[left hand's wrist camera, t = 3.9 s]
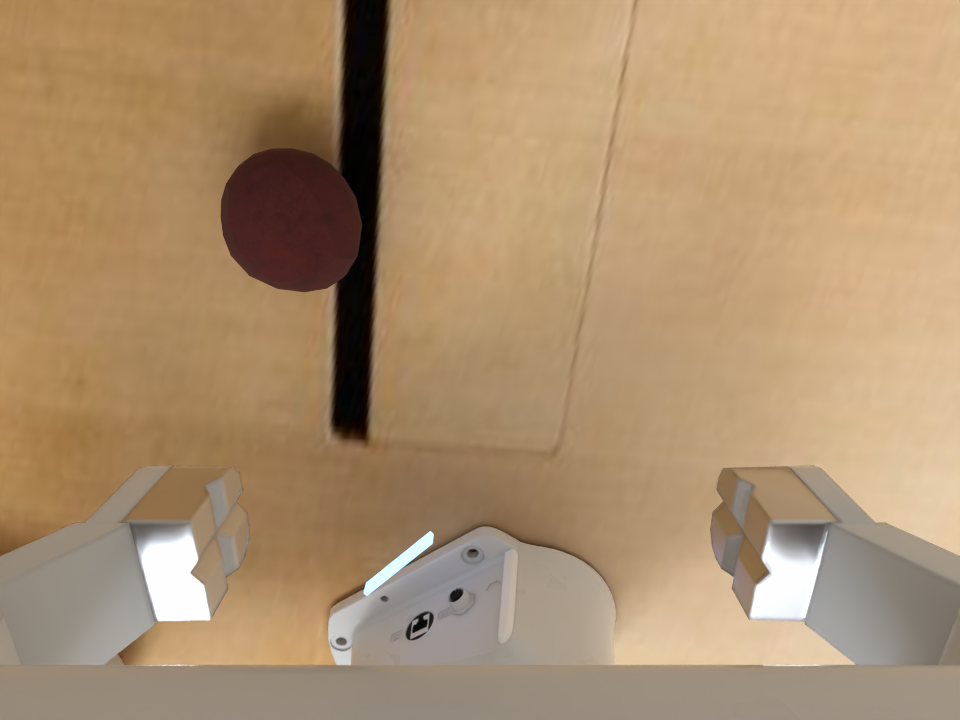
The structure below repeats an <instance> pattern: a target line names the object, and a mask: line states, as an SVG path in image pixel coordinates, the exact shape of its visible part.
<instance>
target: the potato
mask: <svg viewBox="0 0 960 720" xmlns="http://www.w3.org/2000/svg"><path fill="white" fill-rule="evenodd" d="M221 222H222V230H223V236H224V239H225V241H226V244H227V246H228V249H229V252H230V254H231V256H232V257H233V258H234V259H235V260H236V262H237V263H238V264H239V265H240V266H241V267H242V268H243V269H244V270H245V271H246V272H247V273H248V275H249V276H251V277H253V278H255V279H258V280H260V281H262V282H264V283H266V284H268V285H271V286H273V287H275V288H278V289H284V290H292V291H300V292H308V291H314V290H320V289H326V288H328V287H330V286H331V285H333V284H334V283H336V282H337V281H339V280H340V279H342V278H343V277H345V275H346V274H347V272H348V271H349V269H350V267H351V266H352V264H353V262H354V261H355V259H356V258H357V255H358V250H359V243H360V236H361V229H362V222H361V218H360V213H359V209H358V204H357V200H356V197H355V195H354V193H353V192H352V190H351V188H350V187H349V185H348V183H347V182H346V180H345V178H344V177H343V176H342V175H341V174H340V173H339V172H338V171H337V170H336V169H335V168H334V167H333V166H332V165H331V164H329V163H328V162H326V161H324V160H323V159H321V158H319V157H318V156H316V155H315V154H311V153H307V152H304V151H300V150H296V149H270V150H266V151H263V152H259V153H256V154H253V155H252V156H251V157H249V158H248V159H247V160H246V161H244V162H243V163H242V164H240V165H239V166H238V167H237V169H236V170H235V171H234V173H233V174H232V176H231V177H230V179H229V180H228V182H227V183H226V186H225V190H224V193H223V196H222V200H221Z"/></svg>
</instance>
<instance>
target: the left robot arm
mask: <svg viewBox="0 0 960 720" xmlns="http://www.w3.org/2000/svg"><path fill="white" fill-rule="evenodd" d="M242 491H243V485H242V480H241V476H240V472H239V471H238V470H237V469H236V468H235V467H200V466H176V467H175V466H146V467H140V468H139V469H138V470H137V471H136V472H135V473H134V474H133V475H132V476H131V477H130V478H129V479H128V480H127V481H126V482H125V483H124V484H123V485H122V486H121V487H120V488H119V489H118V490H117V491H116V492H115V493H114V494H113V495H112V496H111V497H110V498H109V499H108V500H107V501H106V502H105V503H104V504H103V505H102V506H101V507H100V508H99V509H98V510H97V511H96V512H95V513H94V514H93V515H92V516H91V517H90V518H89V519H88V520H87V521H86V522H85V523H73V524H71V525H68V526H66V527H64V528H62V529H60V530H57V531H55V532H53V533H51V534H48V535H46V536H44V537H42V538H39V539H37V540H35V541H33V542H30V543H28V544H26V545H24V546H22V547H19V548H17V549H15V550H13V551H10V552H8V553H6V554H4V555H1V556H0V720H960V556H958V555H956V554H954V553H952V552H949V551H947V550H945V549H943V548H941V547H938V546H936V545H934V544H932V543H929V542H927V541H925V540H923V539H921V538H918V537H916V536H914V535H912V534H909V533H907V532H905V531H903V530H900V529H898V528H896V527H894V526H892V525H889V524H887V523H875V522H874V521H873V520H872V519H871V518H870V517H869V516H868V515H867V514H866V513H865V512H864V511H863V510H862V509H861V508H860V507H859V506H858V505H857V504H856V503H855V502H854V501H853V500H852V499H851V498H850V497H849V496H848V495H847V494H846V493H845V492H844V491H843V490H842V489H841V488H840V487H839V486H838V485H837V484H836V483H835V482H834V481H833V480H832V479H831V478H830V477H829V476H828V475H827V474H826V473H825V472H824V471H823V470H822V469H821V468H819V467H816V466H814V465H810V466H784V467H746V468H723V469H722V471H721V474H720V476H719V479H718V484H717V491H718V493H719V494H720V496H721V498H722V499H723V502H722V503H721V504H720V505H719V506H718V507H717V508H716V509H715V510H714V511H713V513H712V521H711V528H710V530H711V541H712V548H713V551H714V554H715V557H716V559H717V561H718V563H719V565H720V567H721V569H723V570H724V571H726V572H727V573H729V574H730V575H732V576H733V577H734V580H733V585H732V589H733V591H734V593H735V595H736V597H737V599H738V600H739V602H740V604H741V606H742V608H743V609H744V611H745V613H746V615H747V617H748V618H749V620H772V621H805V625H807V626H808V627H809V628H810V629H812V630H813V631H814V632H816V633H817V634H818V635H819V636H821V637H822V638H823V639H824V640H826V641H827V642H828V643H829V644H831V645H832V646H833V647H835V648H836V649H837V650H838V651H840V652H841V653H842V654H843V655H845V656H846V657H847V658H848V659H850V660H851V661H852V662H854V663H855V664H856V665H615V661H614V630H615V622H616V608H615V602H614V599H613V596H612V593H611V591H610V589H609V587H608V586H607V584H606V583H605V581H604V580H603V578H602V577H601V576H600V575H599V574H598V573H597V572H596V571H595V570H594V569H593V568H592V567H590V566H589V565H588V564H586V563H585V562H583V561H582V560H580V559H578V558H576V557H574V556H572V555H570V554H568V553H565V552H562V551H559V550H556V549H552V548H547V547H541V546H536V545H530V544H526V543H523V542H520V541H518V540H517V539H515V538H513V537H512V536H510V535H508V534H506V533H505V532H503V531H501V530H499V529H496V528H493V527H489V526H483V527H479V528H477V529H475V530H473V531H471V532H469V533H467V534H465V535H463V536H461V537H460V538H458V539H456V540H454V541H452V542H450V543H448V544H447V545H445V546H443V547H441V548H439V549H437V550H435V551H434V552H432V553H430V554H428V555H426V556H424V557H422V558H420V559H419V560H417V561H415V562H413V563H411V564H409V565H407V566H406V567H404V566H405V565H406V564H407V563H409V562H410V561H411V560H412V559H414V558H415V557H416V556H417V555H419V554H420V553H421V552H422V551H424V550H425V549H426V548H427V547H429V546H430V545H431V544H433V533H432V532H431V531H430V532H429V533H427V534H426V535H425V536H424V537H422V538H421V539H420V540H419V541H418V542H416V543H415V544H414V545H413V546H411V547H410V548H409V549H408V550H406V551H405V552H404V553H403V554H401V555H400V556H399V557H398V558H396V559H395V560H394V561H393V562H391V563H390V564H389V565H388V566H387V567H385V568H384V569H383V570H382V571H380V572H379V573H378V574H377V575H375V576H374V577H373V578H372V579H370V580H369V581H368V582H367V583H366V585H365V589H363V590H361V591H359V592H357V593H355V594H353V595H352V596H350V597H348V598H346V599H344V600H342V601H341V602H339V603H337V604H336V605H334V606H333V607H332V608H331V610H330V615H329V621H328V641H329V645H330V649H331V652H332V655H333V658H334V660H335V662H336V665H104V664H105V663H107V662H108V661H109V660H110V659H112V658H113V657H114V656H115V655H117V654H118V653H119V652H121V651H122V650H123V649H124V648H126V647H127V646H128V645H129V644H131V643H132V642H133V641H135V640H136V639H137V638H138V637H140V636H141V635H142V634H143V633H145V632H146V631H147V630H148V629H150V628H151V627H152V626H154V625H155V621H187V620H211V619H212V617H213V615H214V613H215V611H216V610H217V608H218V606H219V604H220V602H221V600H222V599H223V597H224V595H225V593H226V591H227V589H228V585H227V580H226V577H227V576H228V575H230V574H231V573H233V572H234V571H236V570H237V569H239V567H240V565H241V563H242V561H243V559H244V557H245V555H246V550H247V546H248V542H249V520H248V513H247V511H246V510H245V509H244V508H243V507H242V506H241V505H240V504H239V503H238V502H237V499H238V498H239V496H240V494H241V493H242ZM470 549H476V550H477V551H475V552H470V551H469V550H470ZM402 567H404V568H402ZM401 568H402V569H401ZM341 637H343V638H341Z"/></svg>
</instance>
